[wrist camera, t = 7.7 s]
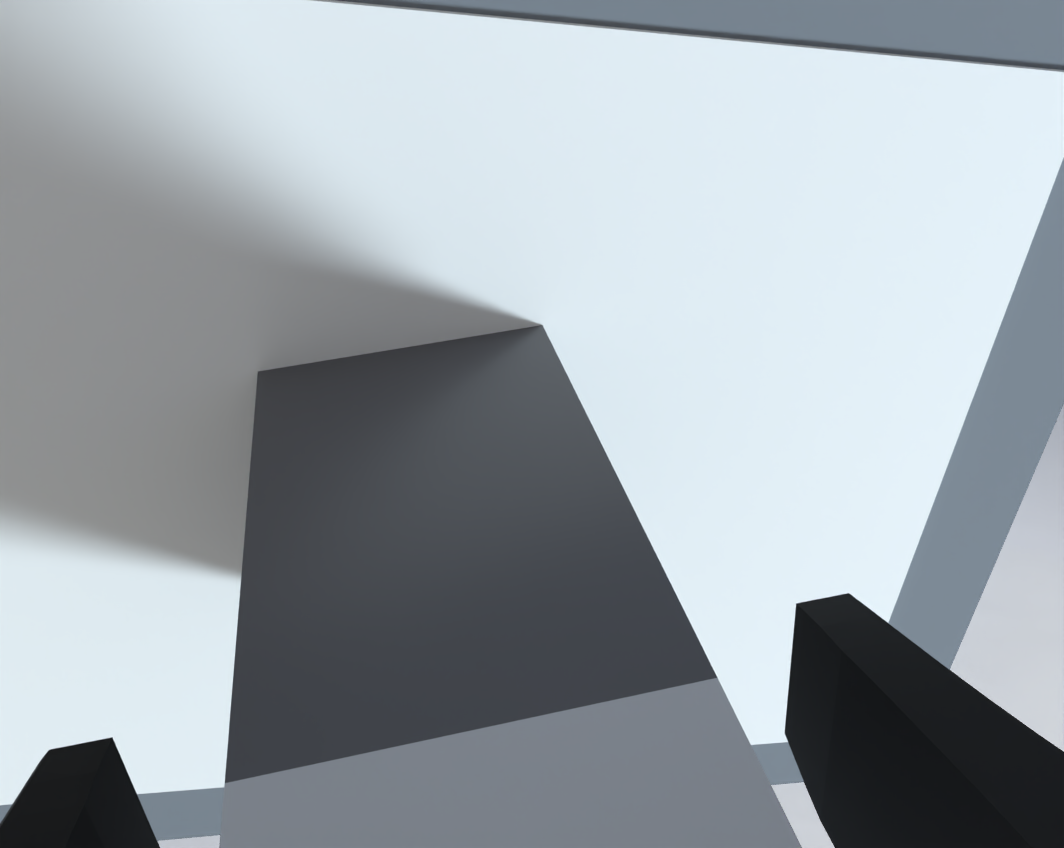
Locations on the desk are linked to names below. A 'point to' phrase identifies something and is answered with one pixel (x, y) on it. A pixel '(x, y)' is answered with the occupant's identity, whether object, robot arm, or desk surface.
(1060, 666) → the desk surface
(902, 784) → the robot arm
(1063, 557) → the desk surface
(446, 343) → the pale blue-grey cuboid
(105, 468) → the desk mat
